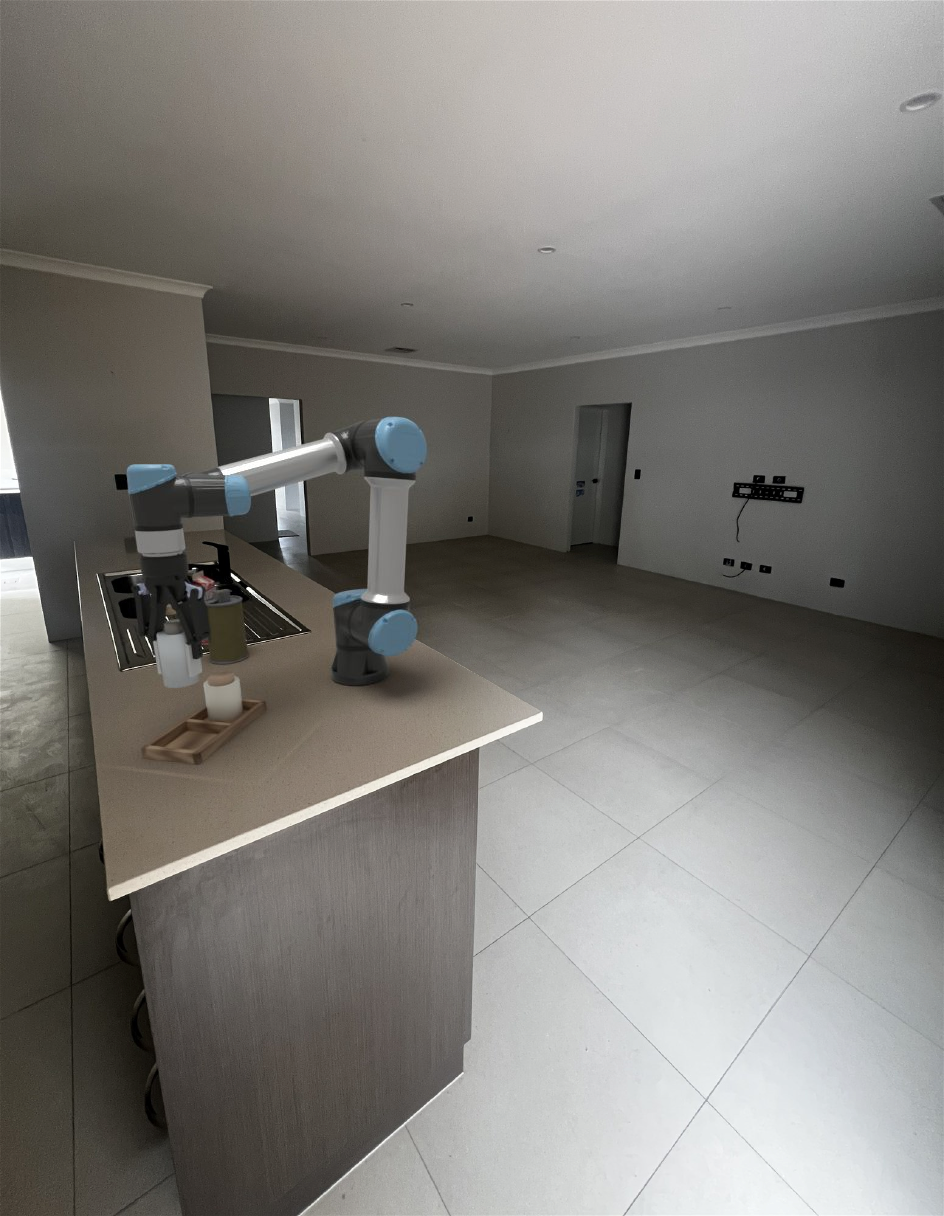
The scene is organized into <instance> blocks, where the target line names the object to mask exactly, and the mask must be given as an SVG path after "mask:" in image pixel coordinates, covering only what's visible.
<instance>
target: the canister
mask: <svg viewBox="0 0 944 1216" xmlns="http://www.w3.org/2000/svg"><path fill="white" fill-rule="evenodd" d="M232 592H233V591H232V590H231V589H227V588H224V589H217V590H216V591H213V596H212V597H211V598H208V599H205V600H204V601H205V607H206V612H207V617H208V623H209V628H210V633H211V636H210V637H208V638H206V639H205V640H206V641H208V645H207V646H208V652H209V662H210V663H212V664H214V663H215V664H216V665H230V664H235V663H239V661H240V662H242V660H243V661H244V660H246V659H247V657H248V658H249V655H250V654H249V651H248V643H247V634H246V626H245V618H244V610H243V609H244V608H243V597H241V596H238V595H231V593H232ZM215 664H214V665H215Z"/></svg>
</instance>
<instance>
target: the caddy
mask: <svg viewBox="0 0 944 1216" xmlns="http://www.w3.org/2000/svg"><path fill="white" fill-rule="evenodd" d="M242 705H243V713H244V715H242V716H241V717H240V718H238V719H237V720H236V721H235V722H233V723H223V722H214V721H209V720H208V713H207V706H206V704H205V705H204V706H202V707H200V708H198V709H197V710H196V711H194V712H193V713H191V714H189V715H188V716H187V717H185V718H183V719H182V720H180V721H179V722H178V723H176V724H174V725H173V726H171V727H170V728H168V729H167V730H165V731H164V732H162V733H161V734H159V735H158V736H156V737H154V738H153V739H151V740H150V741H149V742H147V743H146V744H144V745H143V746H141V747H140V749H141V755H142V759H149V760H155V761H164V762H172V763H180V764H181V763H182V764H189V765H195V766H196V765H197V766H198V765H201V764H202V763H203V762H204V761H205V760H207V759H208V758H210V757H211V756H213V754H214V753H216V752H217V751H218V750H219V749H220V748H223V746H224V745H226V743H229V741H230V740H232V739H233V738H234V737H235V736H236V735H238V734H240V733H241V731H243V730H244V729H245V728H247V727H248V726H249V725H251V723H253V722H254V721H255V720H257V719H258V718H259V717H260V716H262V715H263V714H265V713H266V711H267V710H268V709H267V701H266V700H261V699H260V700H259V699H258V700H257V699H247V698H242Z"/></svg>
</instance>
